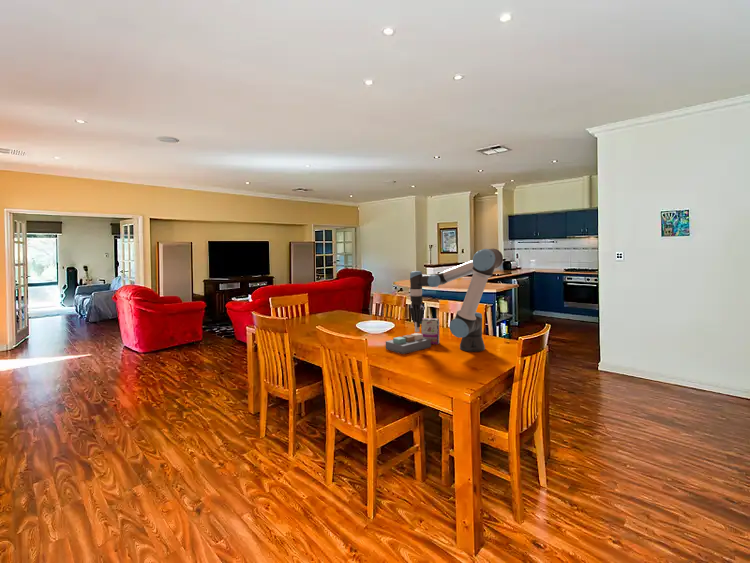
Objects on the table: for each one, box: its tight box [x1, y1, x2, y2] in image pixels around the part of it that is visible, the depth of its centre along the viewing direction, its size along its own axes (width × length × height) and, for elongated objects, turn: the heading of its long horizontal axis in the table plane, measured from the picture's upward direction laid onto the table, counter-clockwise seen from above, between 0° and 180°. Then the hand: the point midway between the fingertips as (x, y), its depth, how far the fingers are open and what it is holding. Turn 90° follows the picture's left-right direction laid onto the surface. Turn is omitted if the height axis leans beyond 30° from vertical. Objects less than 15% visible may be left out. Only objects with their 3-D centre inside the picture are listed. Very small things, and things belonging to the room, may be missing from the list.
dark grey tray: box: [385, 338, 432, 355], centre depth 255 cm, size 16×24×5 cm, turn 129°
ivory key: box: [410, 332, 423, 340], centre depth 260 cm, size 6×6×4 cm
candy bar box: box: [420, 317, 440, 345], centre depth 266 cm, size 11×5×16 cm, turn 70°
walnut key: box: [401, 334, 415, 342], centre depth 255 cm, size 6×6×4 cm
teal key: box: [392, 336, 406, 344], centre depth 250 cm, size 6×6×4 cm
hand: (417, 331), depth 259 cm, fingers closed
